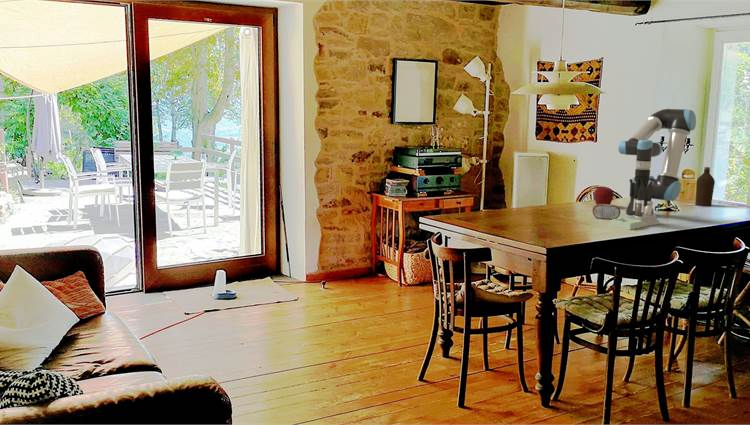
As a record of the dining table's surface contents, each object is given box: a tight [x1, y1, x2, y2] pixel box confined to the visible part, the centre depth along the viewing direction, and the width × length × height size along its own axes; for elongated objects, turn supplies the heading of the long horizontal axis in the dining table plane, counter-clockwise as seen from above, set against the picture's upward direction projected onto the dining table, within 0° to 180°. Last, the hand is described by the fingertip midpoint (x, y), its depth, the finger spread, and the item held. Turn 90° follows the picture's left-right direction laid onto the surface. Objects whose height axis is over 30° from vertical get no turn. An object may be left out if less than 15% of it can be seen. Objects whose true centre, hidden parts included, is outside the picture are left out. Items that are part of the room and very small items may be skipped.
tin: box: [592, 204, 621, 220], centre depth 388 cm, size 15×3×8 cm, turn 74°
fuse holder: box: [627, 214, 660, 227], centre depth 376 cm, size 10×17×4 cm, turn 128°
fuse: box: [644, 200, 654, 216], centre depth 378 cm, size 4×4×10 cm
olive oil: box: [695, 166, 716, 207], centre depth 444 cm, size 11×11×25 cm
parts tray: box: [609, 217, 644, 230], centre depth 366 cm, size 12×12×4 cm
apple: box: [593, 186, 615, 205], centre depth 430 cm, size 12×12×13 cm
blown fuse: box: [635, 200, 643, 218], centre depth 372 cm, size 4×4×10 cm
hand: (639, 211), depth 372 cm, fingers closed on blown fuse, 4 cm apart
